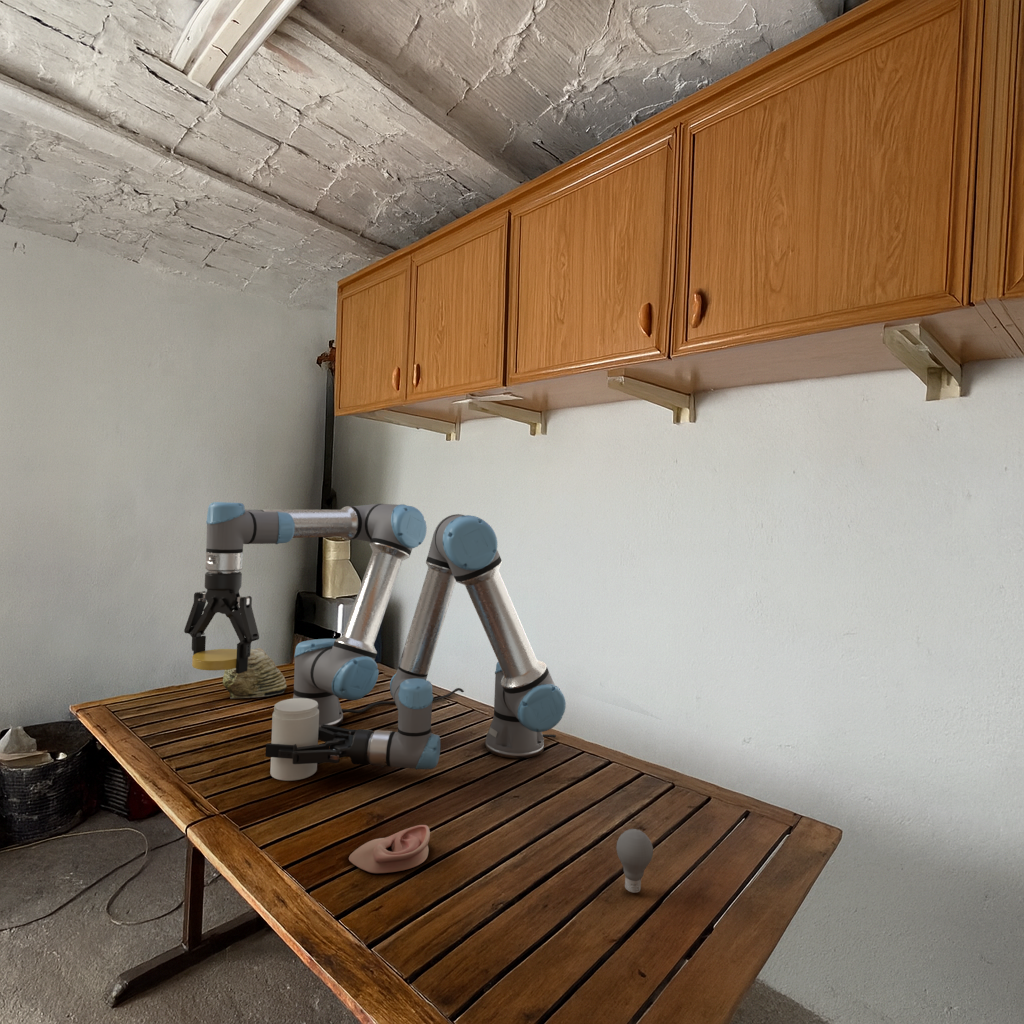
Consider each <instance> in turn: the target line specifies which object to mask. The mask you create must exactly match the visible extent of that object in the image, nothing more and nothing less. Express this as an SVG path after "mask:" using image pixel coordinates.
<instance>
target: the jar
mask: <svg viewBox="0 0 1024 1024" xmlns="http://www.w3.org/2000/svg"><path fill="white" fill-rule="evenodd" d="M273 706H274V707H273V712H272V715H271V716H272V717H271V743H270V744H284V745H295V744H296V745H297V747H304V746H312V745H319V741H318V729H319V710H318V703H317V702H316V701H315V700H312V699H307V698H293V697H292V698H287V699H282V700H280V701H278V702H276V703H275V704H274V705H273ZM317 771H318V763H310V764H293V759H290V758H276V757H270V771H269V773H270V776H271V777H272V778H274V779H276V780H279V781H284V782H285V781H287V782H289V781H290V782H291V781H300V780H304V779H307V778H309V777H311V776H313V775H314V774H315V773H316V772H317Z"/></svg>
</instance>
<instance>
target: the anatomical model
mask: <svg viewBox="0 0 1024 1024" xmlns="http://www.w3.org/2000/svg"><path fill="white" fill-rule="evenodd" d="M430 838H431V830H430V827H429V826H428V825H427V824H419V825H413V826H411V827H409V828H405V829H403V830H400V831H398V832H396V833H393V834H391V835H389V836H386V837H379V838H375V839H372V840H369V841H367V842H365V843H364V844H362V845H360V846H358V848H356V849H355V850H353V852H352V853H350V855H349V857H348V860H349V862H350V863H351V864H352V865H354V866H356V867H357V868H358V869H361V870H363V871H365V872H367V873H369V874H370V873H371V874H387V873H388V874H389V873H396V872H401V871H405V870H409V869H412V868H415V867H418V866H419V865H421V864H422V863H425V861H426V860H427V859H428V856H429V842H430Z"/></svg>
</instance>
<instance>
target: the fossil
mask: <svg viewBox="0 0 1024 1024" xmlns="http://www.w3.org/2000/svg"><path fill="white" fill-rule="evenodd" d="M222 676H223V677H222V685H223V687H224V688H225V690H226V691H228V693H229V698H230V699H250V698H264V697H271V696H275V695H281V694H284V693H285V691H286V689H287V687H288V686H287V680H286V678H285V676H284V674H283V673H282V672H281V669H279V668H278V667H277V665H276V663H275V662H274V660H273V659H272V658H271V657H270V656H269V655H268V654H267V653H266V652H265V650H264V649H263V648H260V647H258V648H251V652H250V657H248V668H247V671H245V672H242V673H239V674H237V673H236V668H234V669H227V670H224V671H223V675H222Z"/></svg>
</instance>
